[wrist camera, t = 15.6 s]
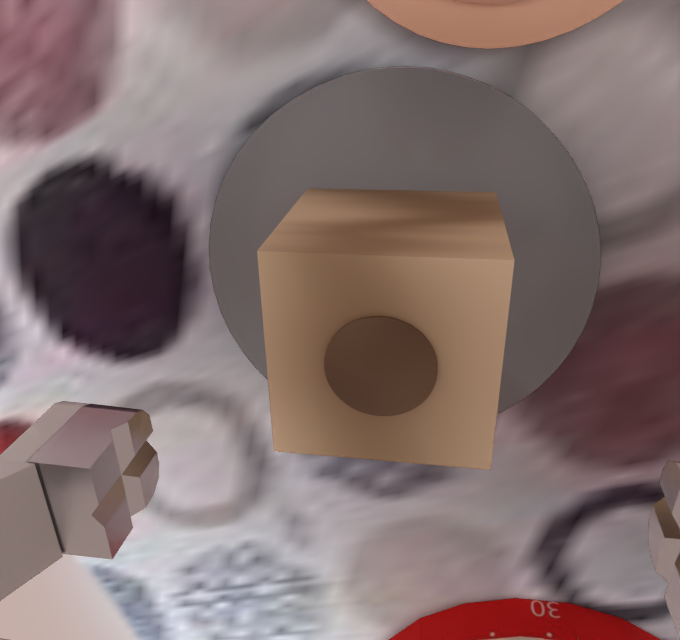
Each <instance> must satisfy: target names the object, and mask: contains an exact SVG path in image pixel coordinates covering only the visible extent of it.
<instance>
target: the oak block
mask: <svg viewBox="0 0 680 640" xmlns="http://www.w3.org/2000/svg"><path fill="white" fill-rule="evenodd" d="M257 257H258V268H259V280H260V292H261V304H262V316H263V328H264V340H265V351H266V363H267V375H268V387H269V399H270V411H271V423H272V434H273V446H274V451H278V452H289V453H301V454H312V455H324V456H336V457H347V458H359V459H371V460H382V461H394V462H405V463H417V464H429V465H440V466H452V467H464V468H475V469H487V470H491V462H492V453H493V444H494V436H495V427H496V418H497V409H498V401H499V392H500V383H501V374H502V366H503V357H504V348H505V339H506V331H507V322H508V313H509V304H510V296H511V287H512V278H513V269H514V261H515V260H514V257H513V253H512V249H511V246H510V242H509V238H508V235H507V231H506V227H505V224H504V220H503V216H502V213H501V209H500V205H499V202H498V198H497V194H496V192H461V191H411V190H362V189H313V188H307V190H306V191H305V192H304V193H303V195H302V196H301V197H300V198H299V200H298V201H297V202H296V203H295V205H294V206H293V207H292V208H291V210H290V211H289V212H288V213H287V215H286V216H285V217H284V218H283V219H282V221H281V222H280V223H279V224H278V226H277V227H276V228H275V229H274V231H273V232H272V233H271V234H270V236H269V237H268V238H267V239H266V241H265V242H264V243H263V244H262V246H261V247H260V248H259V249H258V250H257Z"/></svg>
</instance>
